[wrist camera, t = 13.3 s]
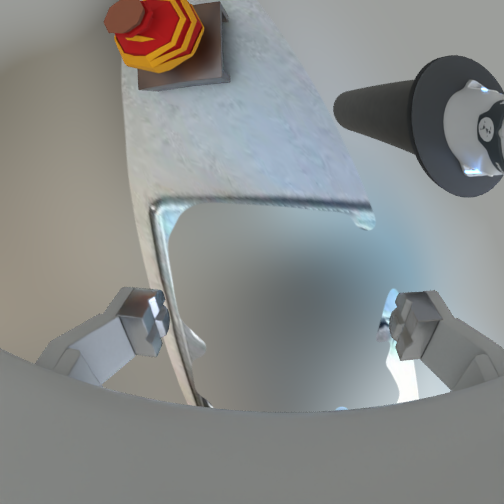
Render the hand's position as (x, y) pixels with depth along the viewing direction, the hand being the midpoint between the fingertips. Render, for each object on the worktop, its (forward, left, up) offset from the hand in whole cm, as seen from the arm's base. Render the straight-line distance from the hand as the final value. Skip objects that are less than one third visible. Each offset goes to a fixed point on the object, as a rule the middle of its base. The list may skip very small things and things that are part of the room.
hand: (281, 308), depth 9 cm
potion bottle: (+13, -17, -30) cm, 37 cm away
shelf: (+13, -17, -37) cm, 43 cm away
